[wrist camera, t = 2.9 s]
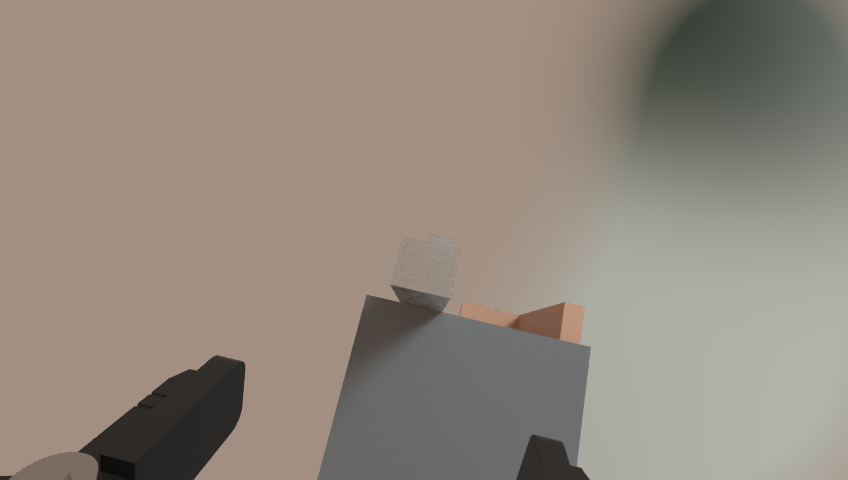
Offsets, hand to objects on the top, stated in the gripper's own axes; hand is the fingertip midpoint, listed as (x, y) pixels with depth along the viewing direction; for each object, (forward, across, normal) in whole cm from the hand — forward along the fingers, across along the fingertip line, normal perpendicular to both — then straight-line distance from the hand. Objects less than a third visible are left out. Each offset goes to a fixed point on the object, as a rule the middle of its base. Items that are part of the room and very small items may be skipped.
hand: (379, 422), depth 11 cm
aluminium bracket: (+20, 0, +6) cm, 21 cm away
